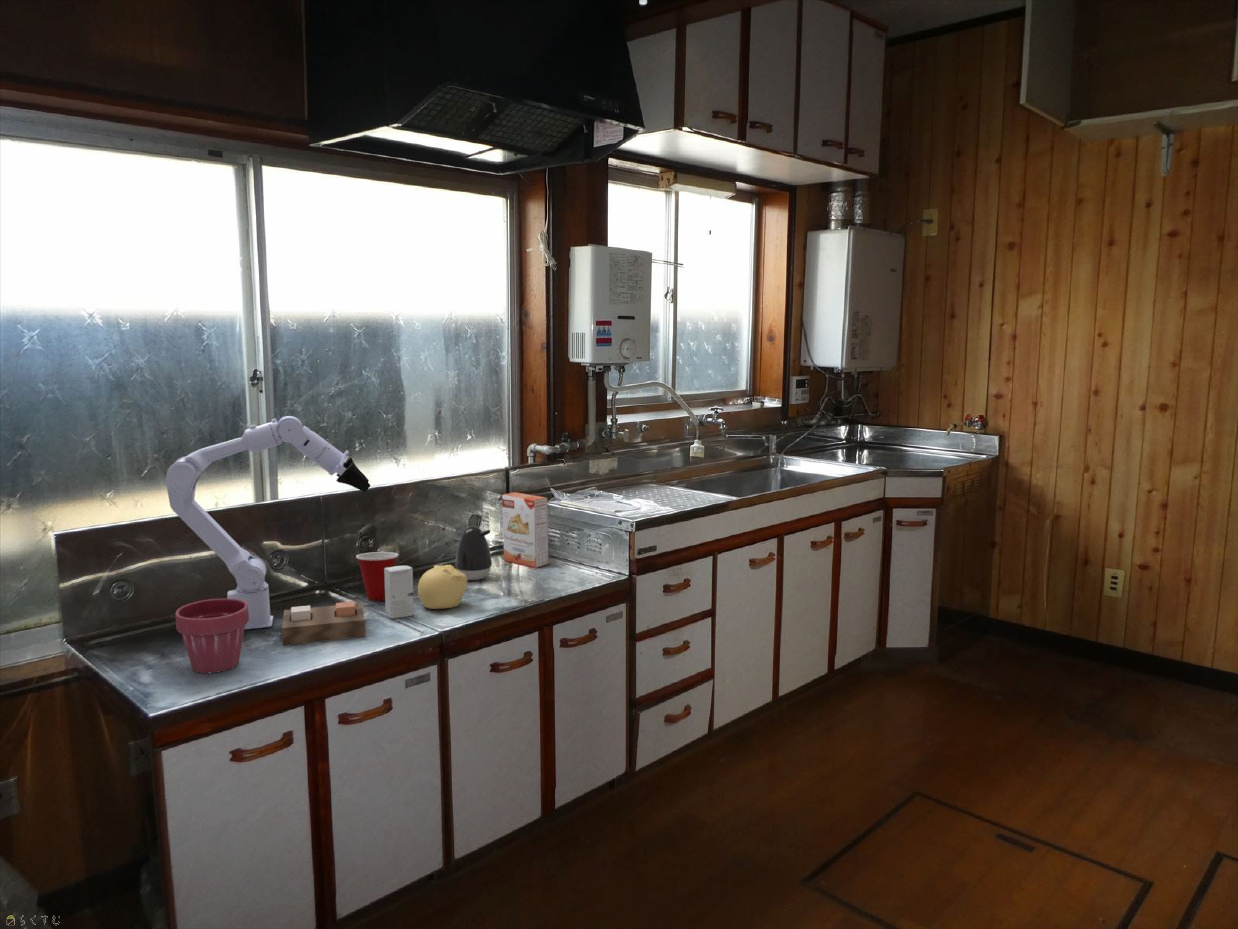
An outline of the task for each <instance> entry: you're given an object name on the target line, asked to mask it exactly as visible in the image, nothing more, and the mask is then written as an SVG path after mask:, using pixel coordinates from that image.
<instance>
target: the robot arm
mask: <svg viewBox="0 0 1238 929" xmlns="http://www.w3.org/2000/svg"><path fill="white" fill-rule="evenodd" d="M283 442H284V443H287V444H288V443H289V444H290V445H292V446H293V447H295V448H296V449H297V450H298V452H300V453H302V454H303V455H304V456H305V457H307V458H308V459H309V460H311V461H312V462H313V463H314V464H316V465H318V466H319V467H320V468H321V469H323V470H325V472H327V473H328V475H330V476H332V475H334V474H336V477H337V478H336V480H335V481H336V482H337V483H339V484H345V485H348V486H350V487H353V488H355V489H357V490H359V491H361V492H363V493H366V492H367V491H368V490H369V488H370V487H371V484H370V483H369V481H370V480H369V479H368V477H367V476H366V475H365V474H364V472H362V471H361V469H359V467H358V466H357V464H356V463H355V462H354V460H353V459H352V457H351V456H349V457H348V458H347V456H348V455H349V454H350V452H349V450H345V452H344V453H343V452H341V450H339V449H338V448H336V447H335V446H334V445H332V444H331V443H330V442H328V441H327V440H326V439H325V438H323V437H322V436H320V435H319V434H318V433H316V432H315V431H312V430H311V429H310V428H309V427H308V426H305V425H303V424H302V422H301V420H300V419H299V418H297V417H295V416H293V415H292V416H291V415H287V416H282V417H281V418H280V419H278V420H277V418H273V419H271V422H266V423H264V424H261V425H256V424H252V425H249V428H247V429H245V431H244V432H243V435H242V436H241V437H238V438H234V439H230V440H228V441H224V442H220V443H217V444H213V445H209V446H207V447H203V448H200V449H198V450H195V451H193V452H190V453H189V454H187V456H180V457H179V458H178V459H176V460H175V462H174V463H172V464H171V465H170V466H169V467H168V469H167V472H166V476H165V480H164V484H165V487H166V489H167V490H166V491H167V495H168V500H169V502H168V503H169V507H170V509H171V510H172V511H173V512H174V513H175V514H176V515H177V516H178V517H179V518H180V519H181V520H182V521H183V522H184V523H185V525H187V526H188V527H189V528H190V529H191V530H192V531H193V533H195V534H196V536H197V537H199V538H200V539H201V540H202V541H203V542H204V543H205V545H207V546H208V547H209V549H211V550H212V551H213V553H215V554H216V556H218V557H219V558H220V560H221V561H222V562H224V563H225V565H226V567H227V569H228V571H229V572H230V573H231V575H232V576H233V577H234V579H235V581H236V582H235V583H236V584H237V586H236V588H235V589H232V590H228V591H227V593H226V594H227V598H226V599H238V600H242V601H245V602H246V603H247V604H248V612H249V621H248V623H247V624H246V625H245V627H244V630H251V629H263V628H271V627H272V626H273V620H274V615H271V605H270V590H269V589H270V588H269V583H267V582H266V581H265V579H266V578H265V577H266V574H267V570H268V568H267V565H266V563H265V562H264V561H263V559H261V558H259V557H256V556H253V554H251V553H250V552H249V551H248V550H246V549H244V548H242V547H241V546H240V544H238V543H237V542H236V541H235V540H234V539H233V538H232V536H230V534H228V533H227V531H226V530H225V529H224V528H223V527H222V526H221V525H220V524H219V523H218V522H217V521H216V520H215V519H214V518H213V517H212V516H211V515H210V514H209V513H208V512H207V511H206V510H205V509H204V508H203V507H202V506H201V505H200V504H199V503H198V502H197V501H196V499H195V498H196V497H195V496H196V487H197V484H198V481H199V480H200V477H201V476H202V472H204V471H205V470H206V469H207V468H208V467H209V466H210V465H211V464H212V463H213V462H215V461H218V460H222V459H224V458H226V457H229V456H233V455H235V454H237V453H241V452H244V451H249V452H251V453H253V454H255V453H258V452H262V451H265V450H268V449H271V448H274V447H276V446H280V445H282V443H283Z"/></svg>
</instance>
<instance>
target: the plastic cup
mask: <svg viewBox="0 0 1238 929" xmlns="http://www.w3.org/2000/svg"><path fill="white" fill-rule="evenodd" d="M398 557H399V553H397V552H392V551H391V552H390V551H375V552H374V551H373V552H365V553H360V554H356V559H357V562H358V564H359V568H360V572H361V576H362V581H363V585H364V589H365V593H366V597H367V600H368V601H371V600H374V601H373V602H381V600H382V601H385V572H384V568H388V567H394V566H396V562H397V558H398Z"/></svg>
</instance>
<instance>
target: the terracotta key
mask: <svg viewBox="0 0 1238 929" xmlns="http://www.w3.org/2000/svg"><path fill="white" fill-rule="evenodd" d="M355 604H356V603H355V601H346V602H344V601H343V602H336V603H335V605H336V614H337V617H341V616H351V615H355Z"/></svg>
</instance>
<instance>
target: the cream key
mask: <svg viewBox="0 0 1238 929" xmlns="http://www.w3.org/2000/svg"><path fill="white" fill-rule="evenodd" d="M310 608H311V605H300V606H299V605H298V606H291V608H290V610H291V621H299V620H310V619H311V610H310Z"/></svg>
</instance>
